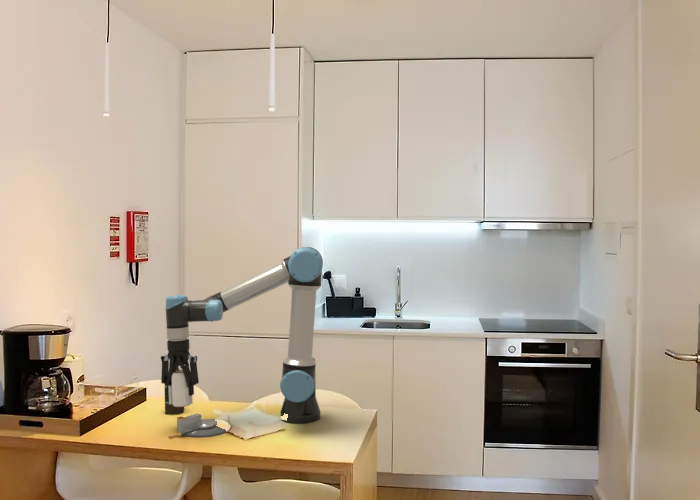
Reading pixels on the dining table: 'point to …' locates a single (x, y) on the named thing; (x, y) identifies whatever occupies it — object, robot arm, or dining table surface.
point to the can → (179, 389)
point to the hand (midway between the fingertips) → (180, 403)
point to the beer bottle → (169, 407)
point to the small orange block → (173, 436)
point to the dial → (193, 423)
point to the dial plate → (205, 432)
